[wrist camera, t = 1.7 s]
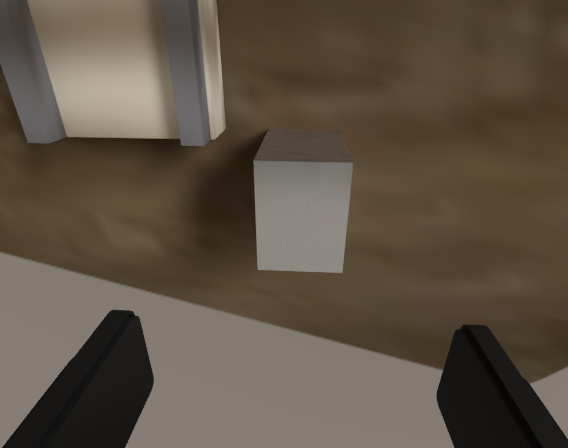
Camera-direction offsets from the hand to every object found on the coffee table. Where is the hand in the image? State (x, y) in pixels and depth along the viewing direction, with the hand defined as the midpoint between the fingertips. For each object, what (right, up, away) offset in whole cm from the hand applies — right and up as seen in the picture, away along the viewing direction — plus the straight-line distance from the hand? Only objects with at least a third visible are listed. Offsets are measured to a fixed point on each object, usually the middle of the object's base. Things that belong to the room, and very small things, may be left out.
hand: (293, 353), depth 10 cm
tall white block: (+1, +7, +13) cm, 15 cm away
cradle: (-9, +15, +9) cm, 20 cm away
